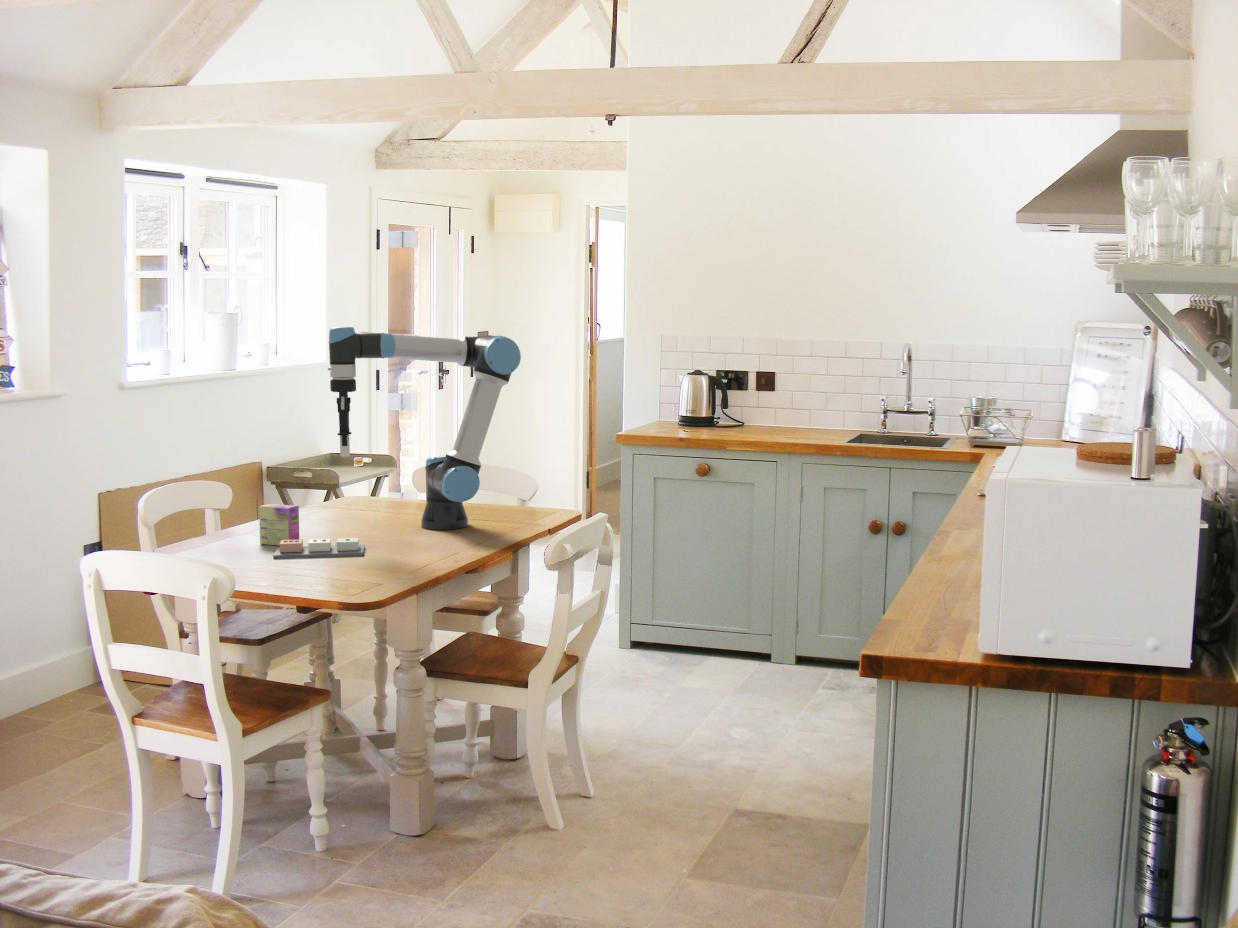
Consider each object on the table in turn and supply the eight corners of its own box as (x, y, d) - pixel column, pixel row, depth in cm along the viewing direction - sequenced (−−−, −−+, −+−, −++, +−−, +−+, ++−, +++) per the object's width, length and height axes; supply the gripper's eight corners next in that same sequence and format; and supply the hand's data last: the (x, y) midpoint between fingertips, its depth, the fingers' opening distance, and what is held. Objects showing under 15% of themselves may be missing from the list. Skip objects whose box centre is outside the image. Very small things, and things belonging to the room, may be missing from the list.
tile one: (358, 546, 354) (358, 537, 353) (357, 550, 348) (357, 541, 348) (338, 546, 353) (337, 537, 352) (336, 550, 347) (336, 541, 347)
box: (300, 543, 364) (298, 505, 362) (289, 546, 358) (287, 508, 357) (271, 541, 367) (269, 503, 365) (259, 544, 362) (258, 506, 360)
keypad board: (364, 547, 357) (364, 544, 357) (362, 555, 345) (362, 552, 345) (278, 550, 353) (278, 547, 353) (273, 558, 341) (273, 555, 341)
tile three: (303, 547, 351) (302, 538, 351) (301, 551, 345) (301, 542, 345) (282, 548, 350) (281, 539, 350) (279, 552, 344) (279, 543, 344)
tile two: (331, 546, 352) (330, 537, 352) (329, 550, 347) (329, 541, 346) (310, 547, 351) (309, 538, 351) (308, 551, 346) (308, 542, 345)
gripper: (331, 377, 365) (333, 453, 368) (328, 379, 352) (331, 459, 355) (356, 377, 366) (358, 453, 369) (354, 379, 354) (356, 458, 357)
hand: (345, 456), depth 362 cm, fingers closed
